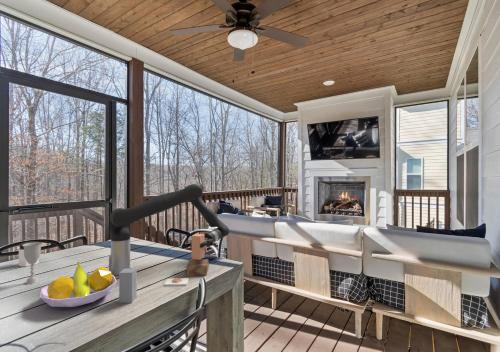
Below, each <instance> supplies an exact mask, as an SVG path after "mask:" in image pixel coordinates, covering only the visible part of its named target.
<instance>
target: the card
mask: <svg viewBox="0 0 500 352" xmlns="http://www.w3.org/2000/svg"><path fill="white" fill-rule="evenodd" d="M189 280H190V278H189V277H175V278H173V277H172V278H171V277H170V278H168V277H167V279H166V280H165V282H164V284H163V286H164V287H171V286H172V287H174V286H175V287H176V286H177V287H178V286H181V287H182V286H184V287H185V286H187V285H188V282H189Z"/></svg>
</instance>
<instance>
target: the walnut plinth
mask: <svg viewBox="0 0 500 352" xmlns="http://www.w3.org/2000/svg"><path fill="white" fill-rule="evenodd" d="M208 272H209V259H207V258H206V259H203V258H202V259H201V260H198V259H189V260H188V262H187V264H186V277H187V276H207V275H208Z"/></svg>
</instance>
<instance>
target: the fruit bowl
mask: <svg viewBox="0 0 500 352" xmlns="http://www.w3.org/2000/svg"><path fill="white" fill-rule="evenodd" d="M117 282H118V281H117V279H116V277H115V275H112V273H111V272H110V271H109V269H107V268H106V267H105V266H102V267H96V268H95V269H94V270H93V271H92V272H91V273H86V270H84V268H83V266H82V265H81V262H80V261H78V262H77V265H76V268H75V270H74V273H73V275H72V276H69V277H68V276H58V277H57V278H55V279H54V280H53V281H51V282H50V283H48V285H46V286H44V287H42V288H41V289H40V294H39V297H40V298H41V300H43V302H44V303H46V304H47V305H49V306H50V307H51V308H52V307H53V308H58V307H59V308H77V307H80V306H83V305H86V304H90V303H94V302H95V301H98V300H99V299H101V298H102V297H105V296H107V295H108V294H111V291H112V290H113V288H114V286H115V285H116V283H117Z"/></svg>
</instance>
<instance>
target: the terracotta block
mask: <svg viewBox="0 0 500 352" xmlns="http://www.w3.org/2000/svg"><path fill="white" fill-rule="evenodd" d="M204 241H205V234H204V233H194V234H192V235H191V239H190V243H192V247H190V248H191V260H197V259H198V260H201V259H203V258H205V252H206V251H205V248H206V247H203V248H200V244H201V243H203V242H204Z"/></svg>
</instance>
